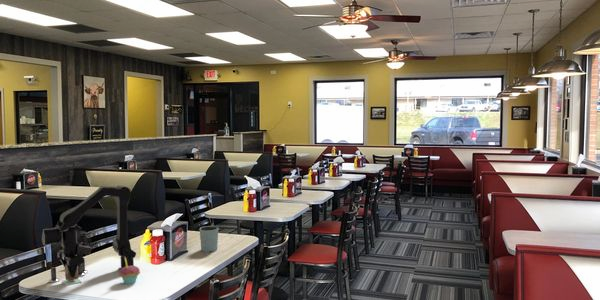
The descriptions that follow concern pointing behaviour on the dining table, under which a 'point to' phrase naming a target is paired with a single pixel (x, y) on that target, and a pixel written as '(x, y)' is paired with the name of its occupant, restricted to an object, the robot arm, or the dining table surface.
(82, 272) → the post course
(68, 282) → the coaster
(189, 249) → the dining table surface
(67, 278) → the walnut block
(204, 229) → the grey plant pot
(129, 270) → the cupcake
